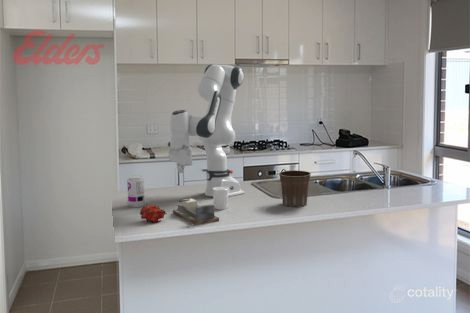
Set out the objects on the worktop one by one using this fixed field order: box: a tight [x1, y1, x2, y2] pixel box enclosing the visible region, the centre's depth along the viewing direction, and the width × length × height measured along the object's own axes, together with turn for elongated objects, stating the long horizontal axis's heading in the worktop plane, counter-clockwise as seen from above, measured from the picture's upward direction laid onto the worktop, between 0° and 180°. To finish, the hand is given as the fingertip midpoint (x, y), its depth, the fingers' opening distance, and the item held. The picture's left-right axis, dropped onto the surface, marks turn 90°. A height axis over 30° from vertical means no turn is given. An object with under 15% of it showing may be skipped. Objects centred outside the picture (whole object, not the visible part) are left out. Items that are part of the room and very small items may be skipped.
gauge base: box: [172, 203, 220, 226], centre depth 218 cm, size 12×24×8 cm, turn 30°
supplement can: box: [126, 175, 146, 208], centre depth 240 cm, size 8×8×15 cm
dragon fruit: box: [139, 204, 167, 223], centre depth 211 cm, size 8×8×12 cm
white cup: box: [213, 187, 230, 211], centre depth 233 cm, size 8×8×10 cm
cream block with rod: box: [178, 198, 198, 212], centre depth 222 cm, size 8×6×6 cm
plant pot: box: [278, 169, 312, 207], centre depth 238 cm, size 16×16×16 cm
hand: (180, 172), depth 228 cm, fingers closed
